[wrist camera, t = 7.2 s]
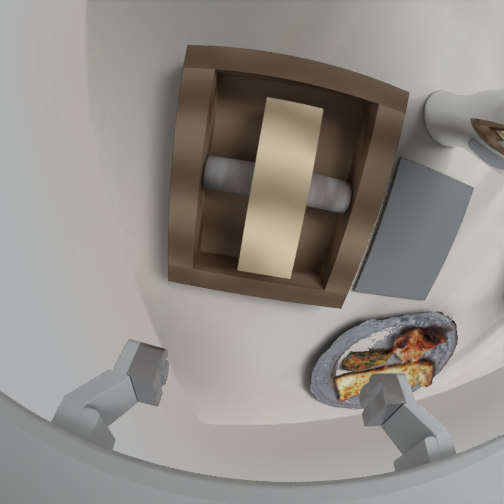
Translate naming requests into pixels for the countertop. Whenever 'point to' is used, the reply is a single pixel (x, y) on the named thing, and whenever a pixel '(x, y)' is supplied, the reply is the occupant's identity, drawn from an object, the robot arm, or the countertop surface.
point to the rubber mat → (414, 232)
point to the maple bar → (280, 187)
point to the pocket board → (237, 137)
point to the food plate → (385, 356)
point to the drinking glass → (469, 123)
